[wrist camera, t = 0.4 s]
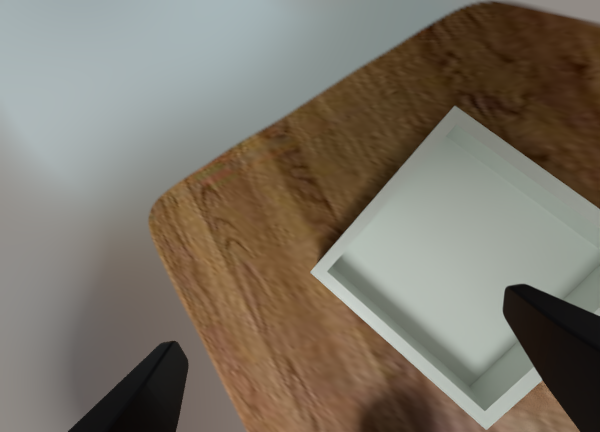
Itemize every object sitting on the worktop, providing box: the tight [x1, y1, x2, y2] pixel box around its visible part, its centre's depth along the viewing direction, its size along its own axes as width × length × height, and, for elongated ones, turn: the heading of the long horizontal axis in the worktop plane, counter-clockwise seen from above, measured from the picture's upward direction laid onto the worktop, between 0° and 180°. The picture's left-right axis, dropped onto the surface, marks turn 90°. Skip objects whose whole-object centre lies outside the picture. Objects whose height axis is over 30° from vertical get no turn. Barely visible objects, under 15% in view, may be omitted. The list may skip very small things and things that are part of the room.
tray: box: [310, 106, 600, 430], centre depth 18 cm, size 14×14×3 cm
